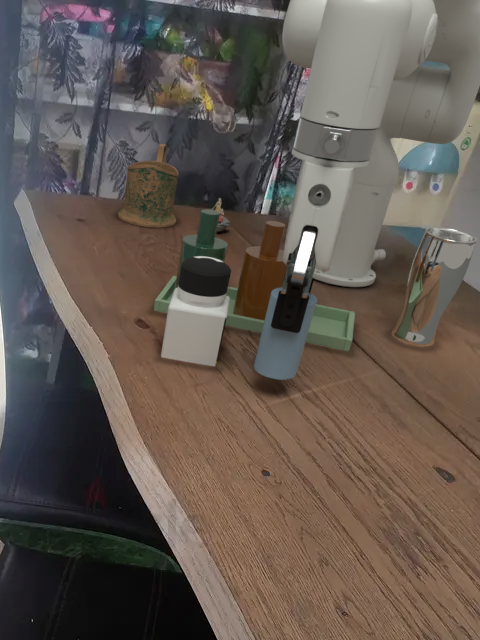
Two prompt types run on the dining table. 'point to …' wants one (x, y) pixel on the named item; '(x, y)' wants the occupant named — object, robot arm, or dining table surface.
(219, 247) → the green bottle
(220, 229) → the figurine
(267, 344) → the blue bottle
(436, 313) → the beer glass
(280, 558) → the dining table surface
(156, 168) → the bronze bell
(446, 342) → the dining table surface
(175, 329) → the medicine bottle
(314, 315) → the tray
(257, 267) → the amber bottle
